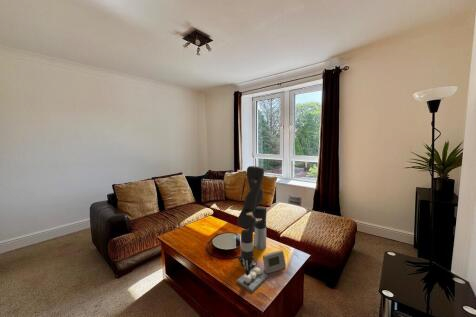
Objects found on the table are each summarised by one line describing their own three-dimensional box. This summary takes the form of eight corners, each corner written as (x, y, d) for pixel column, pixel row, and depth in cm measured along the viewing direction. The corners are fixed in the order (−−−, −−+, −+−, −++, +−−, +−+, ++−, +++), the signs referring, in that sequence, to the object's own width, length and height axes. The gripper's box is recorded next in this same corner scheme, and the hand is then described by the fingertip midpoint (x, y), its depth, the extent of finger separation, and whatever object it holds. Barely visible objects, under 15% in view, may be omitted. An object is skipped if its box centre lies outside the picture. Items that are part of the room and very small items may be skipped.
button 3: (252, 274, 127) (252, 270, 127) (256, 271, 130) (256, 266, 130) (258, 278, 124) (258, 273, 124) (262, 274, 127) (262, 269, 127)
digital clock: (264, 274, 128) (264, 259, 126) (260, 265, 136) (260, 251, 135) (288, 271, 131) (288, 256, 129) (282, 262, 139) (282, 248, 138)
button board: (237, 282, 122) (236, 279, 121) (252, 268, 133) (252, 266, 133) (252, 292, 114) (252, 289, 113) (267, 276, 126) (267, 274, 125)
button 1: (242, 282, 119) (242, 277, 119) (247, 277, 123) (246, 272, 122) (248, 285, 116) (248, 280, 116) (252, 281, 120) (252, 276, 119)
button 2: (247, 279, 123) (247, 274, 123) (251, 275, 127) (251, 270, 126) (253, 282, 120) (253, 277, 120) (257, 278, 124) (257, 273, 123)
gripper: (234, 246, 118) (235, 272, 120) (252, 254, 110) (252, 283, 112) (242, 241, 124) (243, 266, 126) (259, 248, 115) (260, 276, 117)
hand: (247, 274), depth 119 cm, fingers closed
